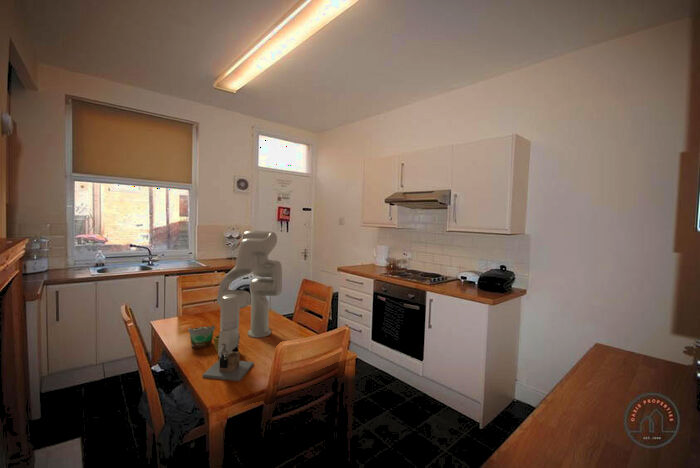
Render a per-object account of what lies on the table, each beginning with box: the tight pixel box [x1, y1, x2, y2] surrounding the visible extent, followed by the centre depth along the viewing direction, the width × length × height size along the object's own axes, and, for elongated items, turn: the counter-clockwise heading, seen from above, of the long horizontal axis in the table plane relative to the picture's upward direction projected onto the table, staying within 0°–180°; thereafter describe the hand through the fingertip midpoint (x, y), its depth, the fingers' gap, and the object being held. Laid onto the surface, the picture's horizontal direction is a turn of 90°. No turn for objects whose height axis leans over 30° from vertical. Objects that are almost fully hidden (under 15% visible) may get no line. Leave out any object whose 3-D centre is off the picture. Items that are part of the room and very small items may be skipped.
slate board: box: [202, 359, 255, 382], centre depth 137 cm, size 14×16×1 cm
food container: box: [187, 324, 216, 350], centre depth 158 cm, size 12×6×10 cm, turn 117°
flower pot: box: [213, 332, 240, 354], centre depth 152 cm, size 9×9×9 cm
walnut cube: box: [218, 351, 240, 372], centre depth 137 cm, size 6×6×6 cm
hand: (229, 362), depth 137 cm, fingers open, 9 cm apart
